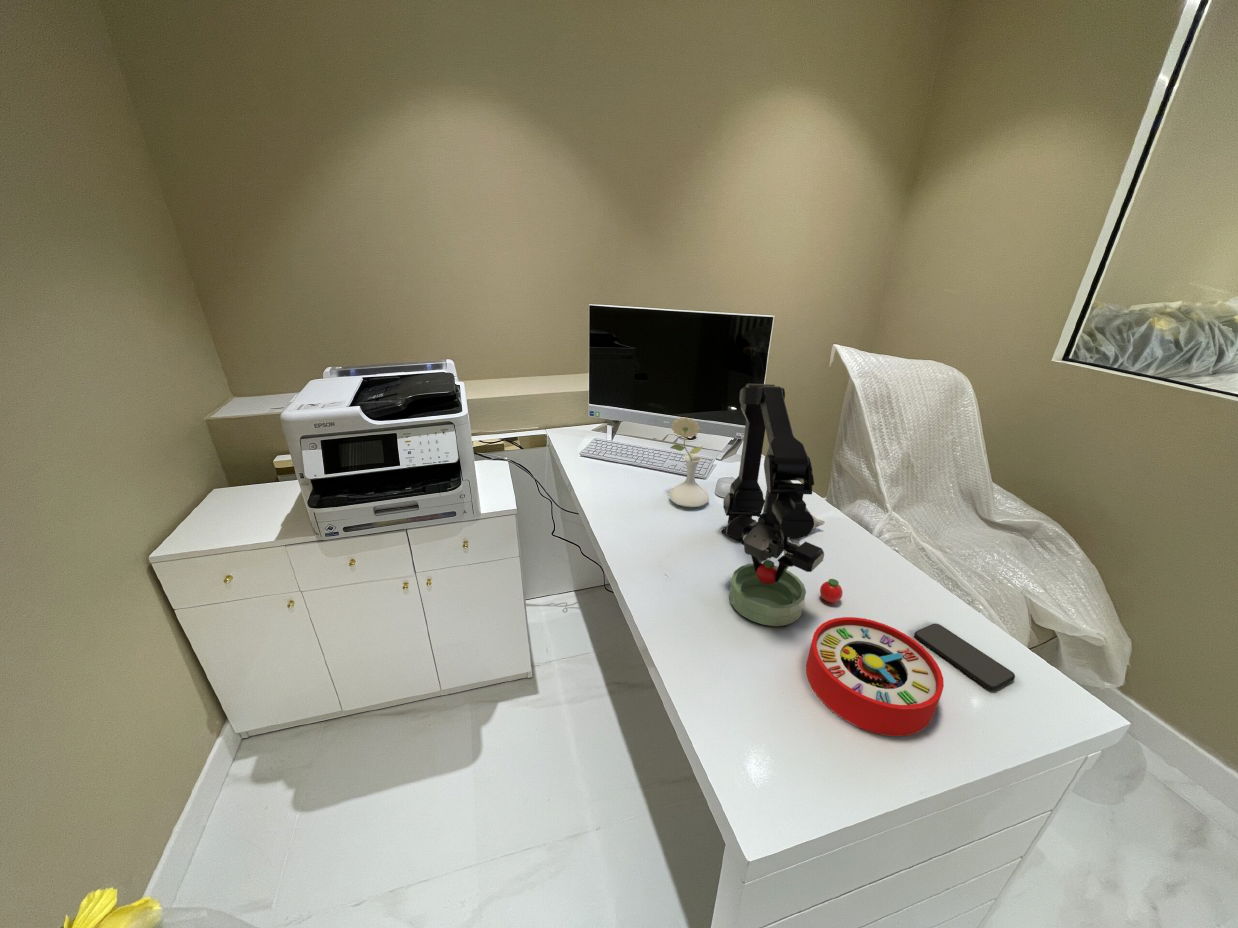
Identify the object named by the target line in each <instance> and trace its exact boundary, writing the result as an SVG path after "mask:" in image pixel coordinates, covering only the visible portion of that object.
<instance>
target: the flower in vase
mask: <svg viewBox="0 0 1238 928" xmlns="http://www.w3.org/2000/svg"><path fill="white" fill-rule="evenodd" d="M699 425H700V424H699V422H698V421H696V420H693V418H691V417H690V418H688V417H684V418H683V416H680V417H679V418H676V419H675V420H673V422H672V423H671V424H670V428H671V431H673V434H675V435H677V436H680V437H682V438H683V445H681V444H679V443H676V444H675V443H674V444H672V445H671V446H670V449H673V450H676V451H679V452H682V451H684V450H685V452H686V453H687V454H684V456H683V460H684V461H685V464H686V478H685V480H684V482H682V483H679V484H678V485H675V486H674V487H673V488H672V489H670V492H669V494H668V497H669V499H670V500H671V502H672V503H674V504H675V505H678V506H680V507H685V508H699V507H702V506H705V505H706V504H707V503H708V502H709V500H710V496H709V494H708V491H706V489H704V488H703V487H702V486H700V485H699V484H698V483H697V482H696V470H697V467H698V464H699V463H700V462H701V461H702V457H701V456H700V455H698V453H699V452H700V451H702V449H703V445H702V446H697V447H693V448H692V449H691V450H690V451H688V449H687V447H686V438H689V437H690V438H692V437H693V436H694V437H696V436H698V434H699V433H700V432H701V427H700V426H699Z"/></svg>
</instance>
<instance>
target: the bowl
mask: <svg viewBox="0 0 1238 928" xmlns="http://www.w3.org/2000/svg"><path fill="white" fill-rule="evenodd" d="M775 566H776V567H777V569H778V565H775ZM731 575H732V576H731V580H730V586H729V593H728V595H729V602H730V603H731V605H732V607H733V609H734V610H735V611H737V612H738V613H739V615H741V616H742V617H744V618H746V619H748V620H749V621H752V622H754V623H757V624H760V625H764V626H770V627H782V626H788V625H790V624H793V623H795V622H797V620H799V618H801V616H802V612H803V608H804V604H805V600H806V594H807V590H806V587H805V584H804V583H803V582H802V580H801V579H800V578H799V577H798V576H797V575H795V574H794V573H793V572H791V571H790V570H788V569H787V570H786V572H785V573H784V574H783V576H782V577H781V578H780V580H779V581H778V582H774V583H772V584H764V583H762V582H761V581H760V580H759V579H758V577H757V573H756V572H755V569H754V565H753V563H747V564H743V565H741V566H739V567H738V568H737V569H735V570H734V571H733V573H732V574H731Z"/></svg>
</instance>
